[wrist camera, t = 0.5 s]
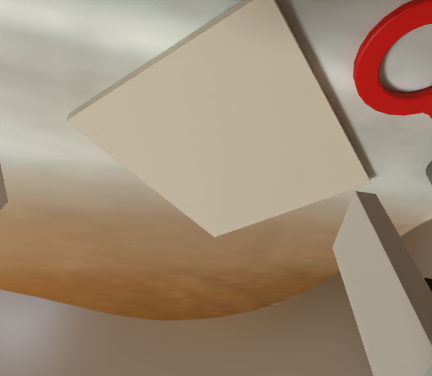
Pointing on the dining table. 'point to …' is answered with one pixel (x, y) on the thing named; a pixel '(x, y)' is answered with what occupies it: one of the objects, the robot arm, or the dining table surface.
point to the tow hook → (373, 54)
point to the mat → (228, 123)
